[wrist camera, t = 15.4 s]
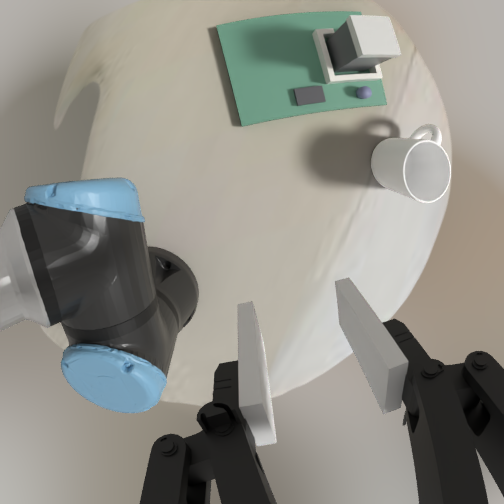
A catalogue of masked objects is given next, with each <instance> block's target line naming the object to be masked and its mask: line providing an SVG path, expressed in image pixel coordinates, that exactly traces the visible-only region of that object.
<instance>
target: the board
mask: <svg viewBox="0 0 504 504" xmlns="http://www.w3.org/2000/svg"><path fill="white" fill-rule="evenodd" d="M350 15H362V14H361V12H347V11H336V12H308V13H294V14H284V15H275V16H267V17H260V18H254V19H247V20H242V21H236V22H231V23H226V24H222V25H217V31H218V35H219V38H220V42H221V46H222V50H223V54H224V57H225V61H226V65H227V69H228V73H229V77H230V81H231V85H232V89H233V93H234V97H235V101H236V105H237V109H238V113H239V117H240V121H241V125H242V127H243V126H247V125H252V124H256V123H261V122H266V121H271V120H276V119H281V118H287V117H292V116H298V115H304V114H311V113H317V112H324V111H332V110H340V109H348V108H358V107H368V106H380V105H387V102H386V97H385V93H384V88H383V84H382V80H381V79H379V80H377V81H359V82H345V83H334V84H326V82H325V78H324V74H323V70H322V67H321V63H320V59H319V56H318V52H317V49H316V46H315V42H314V39H313V36H312V34H313V32H314V31H315V29H329V28H333V29H334V32H336V31H337V29H338V28H339V27H340V26H341V25H342V24H343V23H344V22H345V21H346V19H347V18H348V17H349V16H350ZM324 39H325V42H326V41H327V40H328V39H329V38H324ZM368 73H370V71H369V69H367V70H365V71H354V72H339V73H334V75H335V76H337V75H350V74H368Z"/></svg>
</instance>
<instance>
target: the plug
mask: <svg viewBox="0 0 504 504" xmlns="http://www.w3.org/2000/svg"><path fill="white" fill-rule="evenodd" d="M325 43H326V46H327V49H328V53H329V56H330V60H331V63H332V67H333V71H334V73H339V72H354V71H365V70H367V69H369V68H372V67H374V66H376V65H378V64H380V63H382V62H384V61H387V60H389V59H391V58H396V57H398V56H400V55H401V52H400V48H399V45H398V42H397V39H396V35H395V32H394V29H393V26H392V24H391V21H390V18H389V17H383V16H366V15H350V16H349V17H348V18H347V19H346V21H345V22H344V23H343V24H342V25H341V26H340V27H339V28H338V29H337V31H336V32H335V33H334V34H333V35H332V36H331V37H330V38H329V39H328V40H327V41H326V42H325Z"/></svg>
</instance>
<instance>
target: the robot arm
mask: <svg viewBox="0 0 504 504" xmlns="http://www.w3.org/2000/svg"><path fill="white" fill-rule="evenodd" d="M24 199H25V202H27V203H26V204H24V205H21V206H18V207H15V208H12V209H10V210H9V212H8V214H7V216H6V218H5V220H4V222H3V224H2V227H1V228H0V331H2V330H5V329H7V328H9V327H11V326H13V325H15V324H17V323H20V322H21V321H24V320H31V321H33V322H35V323H38V324H40V325H42V326H44V327H47V328H48V327H50V326H52V325H55V324H57V323H59V322H61V323H62V326H63V328H64V331H65V334H66V336H67V338H68V341H69V346H68V347H67V348H66V349H65V350H64V352H63V358H62V361H61V369H62V372H63V375H64V376H65V378H66V380H67V382H68V383H69V384H70V385H71V387H72V388H73V389H74V390H75V391H76V392H78V393H79V394H80V395H81V396H83V397H84V398H86V399H87V400H89V401H90V402H93V403H95V404H96V405H98V406H100V407H103V408H106V409H109V410H112V411H117V412H122V413H139V412H143V411H146V410H148V409H150V408H151V407H152V406H155V405H156V404H157V403H158V401H159V399H160V397H161V394H162V392H163V389H164V388H165V386H166V383H167V381H166V378H167V374H168V370H169V366H170V362H171V358H172V354H173V350H174V346H175V342H176V338H177V334H178V333H179V332H180V331H181V330H182V328H183V327H185V326H186V325H187V324H188V323H189V321H190V320H191V319H192V317H193V315H194V313H195V311H196V307H197V303H198V297H199V290H198V284H197V281H196V278H195V276H194V274H193V272H192V271H191V269H190V268H189V267H188V265H187V264H186V263H185V262H184V261H183V260H182V259H180V258H179V257H178V256H176V255H175V254H173V253H171V252H169V251H167V250H164V249H160V248H155V247H147V241H146V235H145V229H144V223H143V222H145V218H144V217H143V216H142V213H141V208H140V203H139V197H138V192H137V189H136V187H135V185H134V184H133V183H132V182H131V181H130V180H128V179H125V178H103V179H90V180H80V181H69V182H61V183H52V184H46V185H38V186H31V187H29V188H27V190H26V194H25V197H24ZM335 285H336V294H337V303H338V314H339V324H340V326H341V328H342V330H343V332H344V334H345V336H346V338H347V340H348V342H349V344H350V346H351V348H352V350H353V352H354V354H355V356H356V358H357V360H358V362H359V364H360V366H361V368H362V370H363V372H364V374H365V376H366V378H367V380H368V383H369V385H370V387H371V389H372V391H373V393H374V395H375V397H376V399H377V402H378V404H379V406H380V408H381V410H382V412H383V414H385V413H387V412H391V411H393V410H396V409H399V408H400V407H401V403H402V400H403V402H404V404H405V406H406V411H405V415H404V419H403V425H405V424H406V421H407V426H408V431H409V436H410V441H411V447H412V453H413V459H414V466H415V472H416V480H417V487H418V496H419V504H488V499H487V494H486V489H485V484H484V480H483V476H482V472H481V468H480V464H479V460H478V456H477V453H476V449H477V451H478V453H479V454H480V456H481V458H482V459H483V461H484V463H485V465H486V466H487V468H488V470H489V471H490V473H491V475H492V476H493V478H494V480H495V482H496V484H497V485H498V487H499V489H500V491H501V493H502V494H503V497H504V369H503V368H502V367H501V366H500V364H499V363H498V362H497V361H496V360H495V359H494V358H493V357H492V356H491V355H490V354H488V353H486V352H483V351H475V352H472V353H470V354H469V355H468V356H467V358H466V360H465V362H464V363H460V364H455V365H444V364H443V363H442V362H440V361H439V360H435V359H431V358H430V357H429V356H428V355H427V353H426V352H425V350H424V349H423V348H422V346H421V345H420V344H419V342H418V341H417V340H416V339H415V338H414V336H413V335H412V333H411V332H410V331H409V330H408V328H407V327H406V326H405V324H404V323H402V322H400V321H398V320H396V319H393V320H389V321H386V322H383V323H382V322H381V321H380V319H379V318H378V317H377V315H376V314H375V312H374V311H373V310H372V308H371V307H370V305H369V304H368V303H367V301H366V300H365V299H364V297H363V296H362V294H361V293H360V292H359V290H358V289H357V288H356V286H355V285H354V284H353V282H352V281H351V280H350V278H346V279H342V280H338V281H335ZM213 389H214V391H213V401H212V402H209V403H207V404H205V405H204V406H203V407H202V408H201V409H200V410H199V412H198V414H197V421H198V423H199V424H200V426H201V427H202V429H203V430H202V431H201V432H199V433H197V434H195V435H192V436H189V437H186V438H182V437H180V436H179V435H175V434H168V435H164V436H162V437H160V438H158V439H157V440H156V441H155V442H154V444H153V447H152V450H151V454H150V458H149V463H148V467H147V472H146V476H145V481H144V486H143V490H142V495H141V500H140V504H210V491H211V480H212V479H215V480H216V484H217V488H218V492H219V496H220V499H221V503H222V504H277V503H276V500H275V498H274V496H273V493H272V491H271V488H270V486H269V483H268V481H267V478H266V475H265V473H264V470H263V467H262V465H261V462H260V459H259V457H258V454H257V453H256V449H255V442H256V444H257V446H262V445H268V444H274V443H277V440H276V433H275V425H274V417H273V410H272V402H271V394H270V386H269V379H268V371H267V363H266V355H265V348H264V341H263V338H262V334H261V331H260V327H259V323H258V320H257V316H256V313H255V309H254V305H253V302H247V303H243V304H238V360H237V361H232V362H226V363H220V364H219V366H218V368H217V369H216V371H215V374H214V388H213ZM475 448H476V449H475Z"/></svg>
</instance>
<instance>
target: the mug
mask: <svg viewBox="0 0 504 504" xmlns="http://www.w3.org/2000/svg"><path fill="white" fill-rule="evenodd" d="M427 133H432V138H431V140H425V139H420V138H421V137H422V136H423V135H425V134H427ZM441 139H442V136H441V132H440V130H439V128H438V127H437V126H435V125H432V124H426V125H423V126H421V127H419V128H418V129H417V130H416V131H415V132H414V133H413V134H412V135H411V136H410V138H388V139H385V140H383V141H381V142H380V143H379V144H378V145H377V146H376V147H375V149H374V151H373V154H372V157H371V169H372V172H373V175H374V177H375V179H376V180H377V181H378V183H380V184H381V185H382V186H383V187H385V188H387V189H389V190H392V191H394V192H397V193H399V194H402V195H404V196H407V197H409V198H412V199H414V200H416V201H419V202H422V203H431V202H434V201H436V200H438V199H439V198H440V197H441V196H442V195H443V194H444V193H445V191H446V190H447V188H448V185H449V182H450V177H451V166H450V161H449V158H448V156H447V154H446V152H445V150H444V149H443V148H442V147H441V146H440V144H441Z"/></svg>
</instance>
